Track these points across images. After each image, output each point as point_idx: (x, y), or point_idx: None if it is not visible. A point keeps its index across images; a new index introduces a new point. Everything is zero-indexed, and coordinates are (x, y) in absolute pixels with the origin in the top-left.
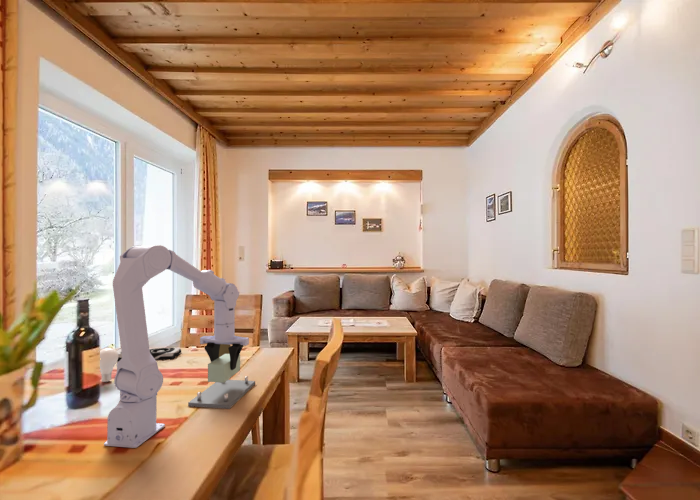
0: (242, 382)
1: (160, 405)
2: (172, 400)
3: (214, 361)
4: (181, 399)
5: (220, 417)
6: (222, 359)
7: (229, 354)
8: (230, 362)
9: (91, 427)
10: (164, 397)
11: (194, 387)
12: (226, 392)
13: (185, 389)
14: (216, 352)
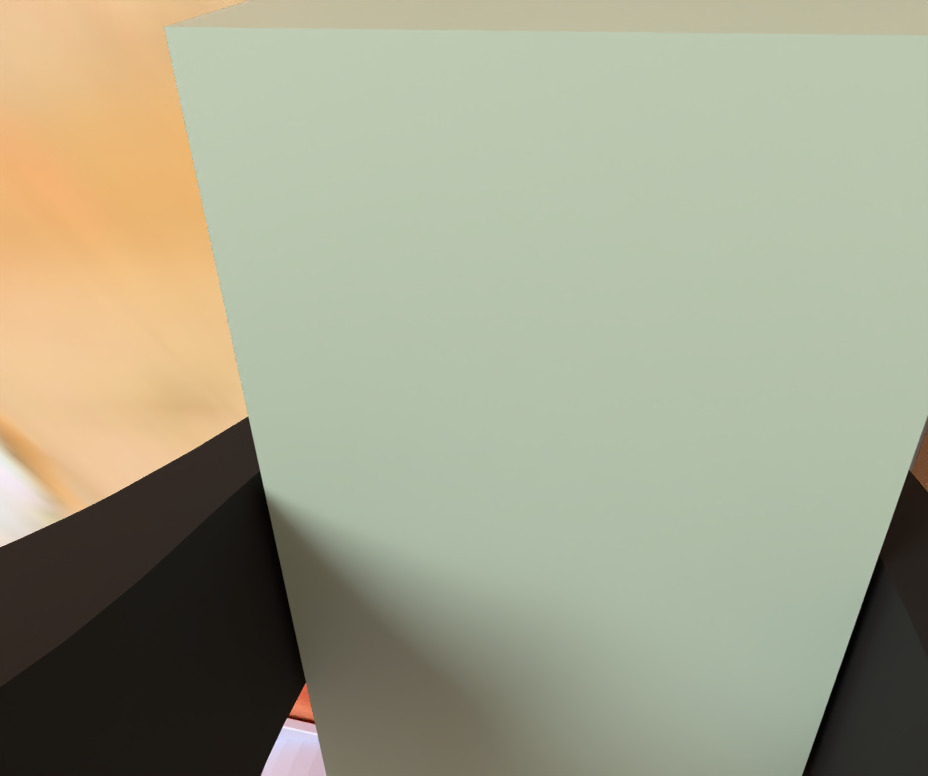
0: None
1: (132, 480)
2: (141, 393)
3: (368, 747)
4: (205, 373)
5: None
6: (487, 655)
7: (430, 135)
8: (809, 767)
9: None
10: (12, 331)
11: (65, 21)
12: None
13: (18, 106)
14: (164, 748)
